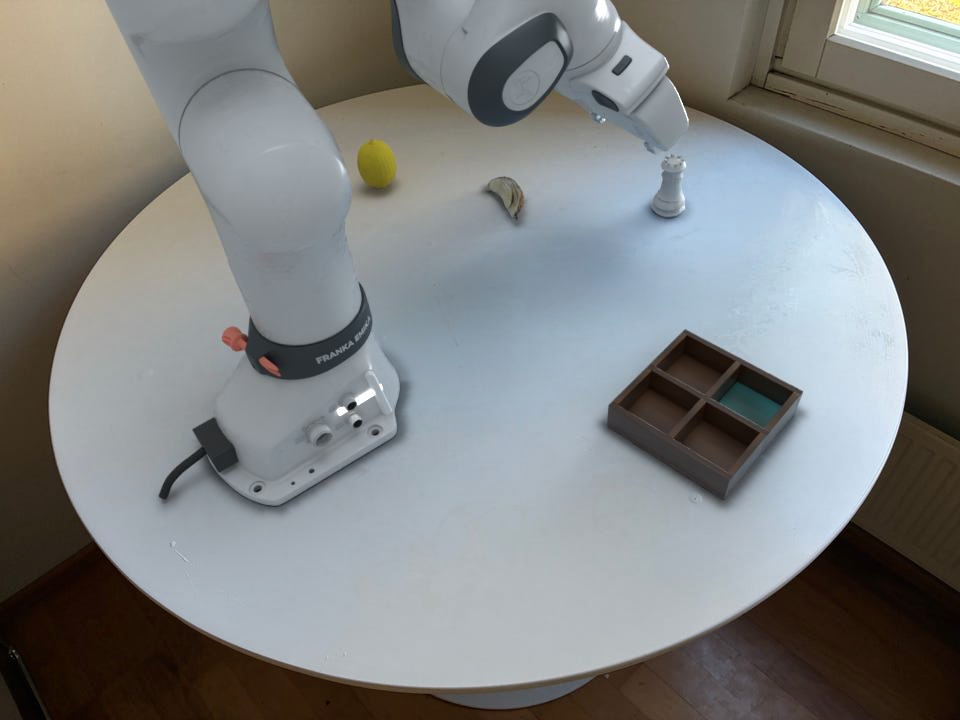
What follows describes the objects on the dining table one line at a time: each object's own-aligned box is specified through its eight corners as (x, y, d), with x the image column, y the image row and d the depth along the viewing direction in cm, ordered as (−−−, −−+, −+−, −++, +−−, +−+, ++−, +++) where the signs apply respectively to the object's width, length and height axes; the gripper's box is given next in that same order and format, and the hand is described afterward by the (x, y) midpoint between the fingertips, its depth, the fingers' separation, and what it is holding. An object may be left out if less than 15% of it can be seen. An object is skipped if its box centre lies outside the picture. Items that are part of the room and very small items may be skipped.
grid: (723, 500, 75) (729, 480, 72) (606, 426, 82) (608, 405, 79) (795, 412, 81) (803, 391, 78) (681, 350, 88) (685, 328, 85)
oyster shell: (499, 223, 113) (532, 222, 104) (477, 216, 111) (509, 214, 102) (509, 183, 113) (543, 179, 104) (487, 175, 111) (520, 170, 102)
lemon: (407, 182, 114) (399, 135, 108) (385, 202, 111) (375, 155, 105) (378, 172, 116) (368, 125, 110) (355, 192, 113) (344, 145, 107)
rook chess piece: (684, 220, 103) (691, 169, 97) (650, 218, 104) (655, 167, 98) (685, 200, 106) (692, 150, 100) (652, 198, 107) (657, 148, 101)
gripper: (505, 44, 85) (554, 119, 96) (634, 113, 73) (673, 190, 84) (543, 0, 85) (588, 81, 96) (678, 62, 73) (712, 146, 84)
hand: (629, 132), depth 90 cm, fingers open, 8 cm apart
